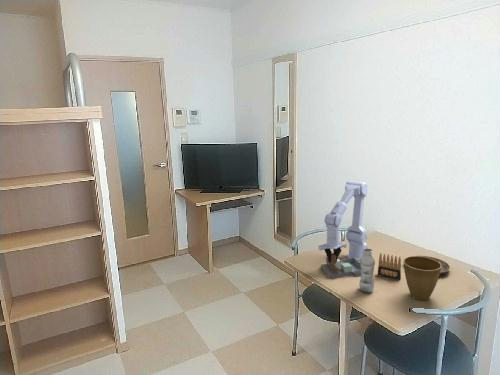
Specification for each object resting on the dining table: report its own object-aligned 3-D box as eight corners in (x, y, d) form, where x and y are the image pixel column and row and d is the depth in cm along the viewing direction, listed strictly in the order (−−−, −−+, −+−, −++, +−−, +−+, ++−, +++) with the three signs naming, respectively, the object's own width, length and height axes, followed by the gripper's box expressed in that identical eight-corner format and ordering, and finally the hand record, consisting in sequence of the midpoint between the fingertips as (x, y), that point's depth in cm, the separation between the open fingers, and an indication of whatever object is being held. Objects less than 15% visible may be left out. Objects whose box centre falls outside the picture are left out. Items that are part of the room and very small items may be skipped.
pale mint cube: (348, 268, 178) (348, 262, 177) (351, 271, 174) (352, 266, 174) (341, 268, 177) (341, 263, 177) (344, 272, 174) (344, 266, 173)
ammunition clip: (400, 278, 169) (402, 256, 166) (400, 280, 168) (401, 257, 165) (378, 273, 175) (379, 251, 172) (377, 275, 174) (378, 253, 171)
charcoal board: (342, 265, 186) (342, 261, 185) (353, 275, 174) (353, 271, 174) (320, 268, 184) (320, 264, 183) (329, 278, 172) (329, 274, 172)
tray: (353, 263, 188) (353, 257, 187) (366, 274, 175) (366, 268, 174) (342, 264, 187) (342, 258, 186) (354, 276, 173) (354, 269, 173)
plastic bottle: (366, 295, 156) (367, 254, 151) (356, 288, 162) (357, 248, 157) (377, 292, 158) (379, 251, 154) (366, 285, 164) (368, 246, 160)
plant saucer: (407, 257, 192) (407, 252, 191) (450, 265, 182) (450, 259, 181) (401, 273, 175) (402, 267, 174) (448, 282, 164) (449, 276, 164)
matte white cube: (337, 262, 184) (337, 257, 184) (340, 266, 180) (340, 260, 180) (330, 263, 184) (330, 258, 183) (333, 267, 180) (333, 261, 179)
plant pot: (445, 297, 152) (448, 263, 148) (427, 309, 144) (430, 274, 140) (412, 284, 164) (415, 252, 160) (394, 294, 155) (396, 261, 152)
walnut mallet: (329, 262, 185) (329, 249, 183) (340, 273, 172) (340, 259, 170) (324, 263, 184) (325, 249, 182) (335, 274, 172) (335, 260, 170)
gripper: (322, 241, 169) (321, 266, 172) (349, 238, 172) (349, 263, 175) (316, 236, 176) (316, 260, 179) (343, 233, 178) (342, 257, 181)
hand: (332, 261), depth 177 cm, fingers closed on walnut mallet, 2 cm apart
